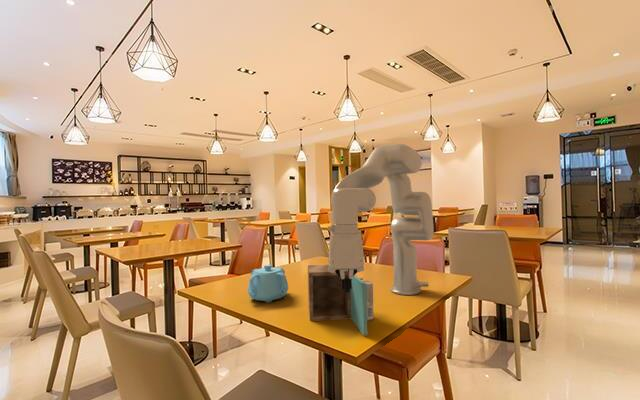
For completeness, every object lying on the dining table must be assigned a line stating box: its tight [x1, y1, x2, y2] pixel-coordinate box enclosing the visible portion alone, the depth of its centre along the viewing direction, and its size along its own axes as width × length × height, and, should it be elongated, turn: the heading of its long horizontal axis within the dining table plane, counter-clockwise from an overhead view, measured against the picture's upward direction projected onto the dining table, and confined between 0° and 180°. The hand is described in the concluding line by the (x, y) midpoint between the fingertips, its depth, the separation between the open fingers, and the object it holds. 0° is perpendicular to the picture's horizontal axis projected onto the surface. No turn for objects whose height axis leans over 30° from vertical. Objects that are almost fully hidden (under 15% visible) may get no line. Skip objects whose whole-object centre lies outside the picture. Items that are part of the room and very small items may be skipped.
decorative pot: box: [247, 264, 289, 303], centre depth 135 cm, size 16×16×14 cm
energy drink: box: [362, 280, 374, 322], centre depth 110 cm, size 5×5×12 cm
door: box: [350, 274, 370, 337], centre depth 102 cm, size 14×2×15 cm, turn 11°
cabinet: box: [307, 264, 352, 322], centre depth 115 cm, size 14×12×16 cm
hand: (346, 291), depth 98 cm, fingers closed
